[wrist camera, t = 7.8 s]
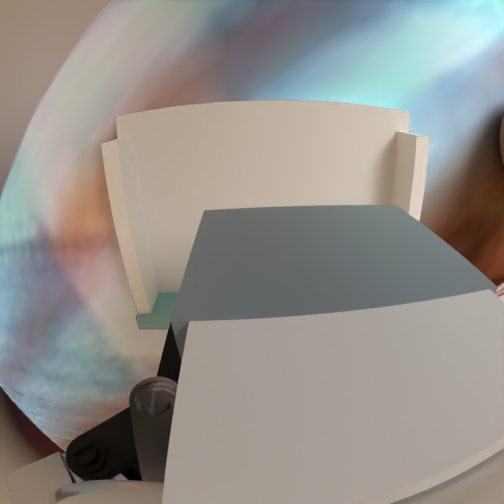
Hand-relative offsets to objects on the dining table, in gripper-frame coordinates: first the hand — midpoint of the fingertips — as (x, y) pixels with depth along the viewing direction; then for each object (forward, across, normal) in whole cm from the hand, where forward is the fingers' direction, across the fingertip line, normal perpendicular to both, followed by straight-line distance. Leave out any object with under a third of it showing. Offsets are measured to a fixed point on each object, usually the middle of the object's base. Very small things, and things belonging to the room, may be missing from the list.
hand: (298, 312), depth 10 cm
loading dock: (+11, 0, 0) cm, 11 cm away
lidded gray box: (+1, 0, 0) cm, 1 cm away
